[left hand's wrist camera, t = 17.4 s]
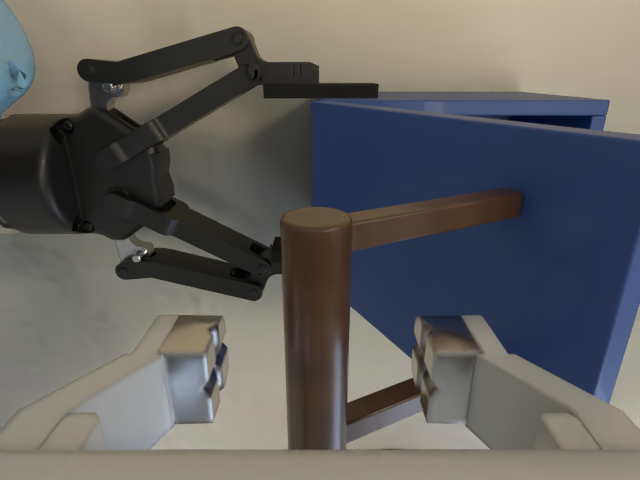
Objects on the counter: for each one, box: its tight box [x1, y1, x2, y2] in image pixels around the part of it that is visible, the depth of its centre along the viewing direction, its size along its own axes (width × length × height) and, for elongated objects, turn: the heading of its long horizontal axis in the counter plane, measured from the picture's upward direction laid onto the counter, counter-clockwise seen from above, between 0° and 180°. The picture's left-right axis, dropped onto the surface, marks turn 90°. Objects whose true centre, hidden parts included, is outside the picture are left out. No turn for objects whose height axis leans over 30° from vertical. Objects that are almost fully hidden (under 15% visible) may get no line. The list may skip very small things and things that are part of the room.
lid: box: [280, 101, 640, 450], centre depth 15 cm, size 16×10×8 cm
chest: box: [319, 92, 610, 131], centre depth 29 cm, size 15×10×11 cm, turn 90°
